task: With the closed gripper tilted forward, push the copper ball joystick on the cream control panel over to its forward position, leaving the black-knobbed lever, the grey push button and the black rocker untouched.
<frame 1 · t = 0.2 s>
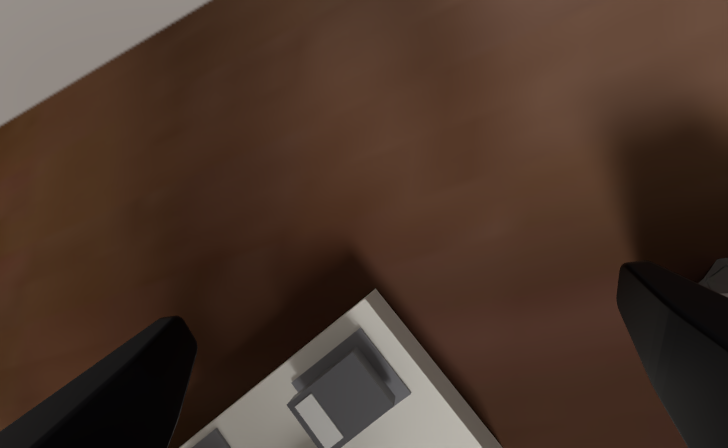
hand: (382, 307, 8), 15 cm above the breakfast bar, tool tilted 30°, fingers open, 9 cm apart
rocker: (341, 400, 19), point 5 cm above the breakfast bar, hinge at 6.0°
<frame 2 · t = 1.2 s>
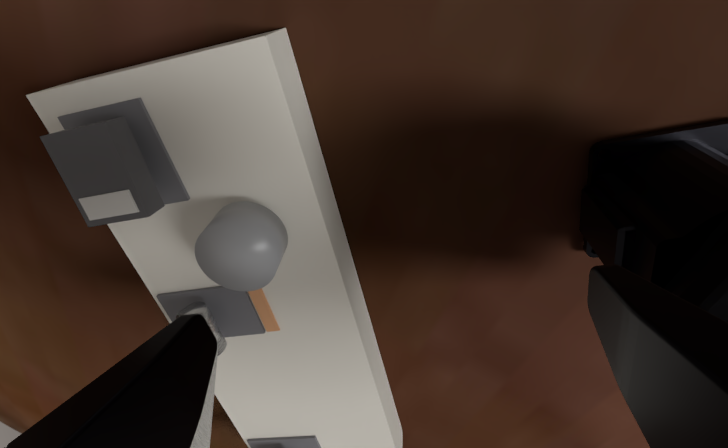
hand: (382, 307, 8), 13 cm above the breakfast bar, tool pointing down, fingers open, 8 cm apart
rocker: (105, 173, 17), point 5 cm above the breakfast bar, hinge at 6.0°
control panel: (278, 298, 26), on the breakfast bar
copper ball joystick: (191, 408, 17), point 9 cm above the breakfast bar, hinge at -20.0°
push button: (243, 246, 18), point 5 cm above the breakfast bar, slide at 0.0 cm
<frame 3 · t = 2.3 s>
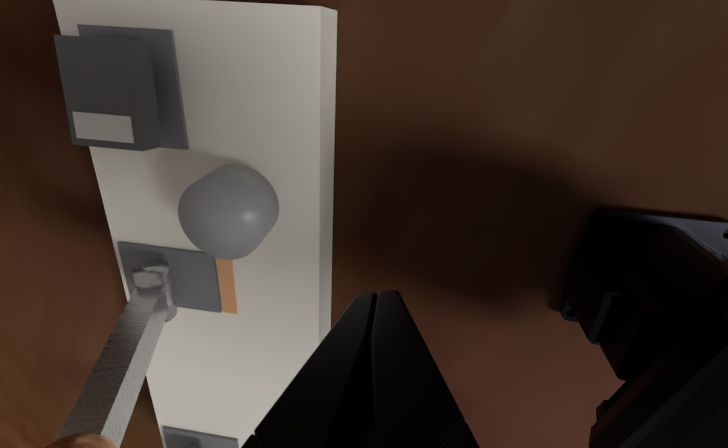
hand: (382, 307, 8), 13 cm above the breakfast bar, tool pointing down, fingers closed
rocker: (110, 94, 16), point 5 cm above the breakfast bar, hinge at 6.0°
control panel: (243, 282, 24), on the breakfast bar
copper ball joystick: (123, 366, 16), point 9 cm above the breakfast bar, hinge at -20.0°
push button: (230, 211, 17), point 5 cm above the breakfast bar, slide at 0.0 cm
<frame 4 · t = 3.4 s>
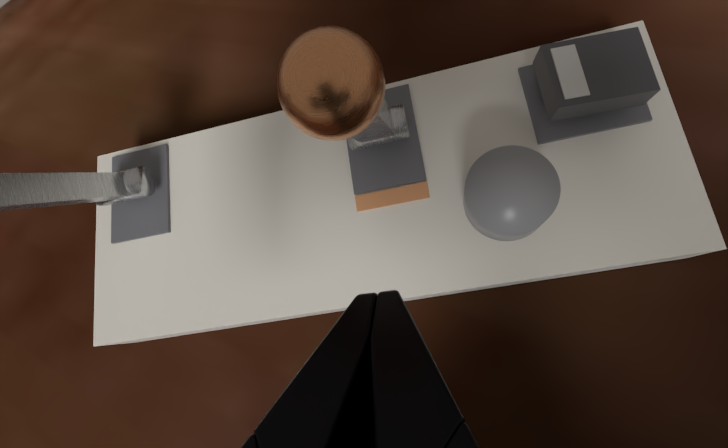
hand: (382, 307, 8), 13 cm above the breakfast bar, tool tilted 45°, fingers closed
rocker: (592, 74, 17), point 5 cm above the breakfast bar, hinge at 6.0°
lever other: (32, 191, 16), point 9 cm above the breakfast bar, hinge at -20.0°
control panel: (363, 208, 23), on the breakfast bar
copper ball joystick: (360, 112, 14), point 9 cm above the breakfast bar, hinge at -20.0°
push button: (508, 194, 17), point 5 cm above the breakfast bar, slide at 0.0 cm
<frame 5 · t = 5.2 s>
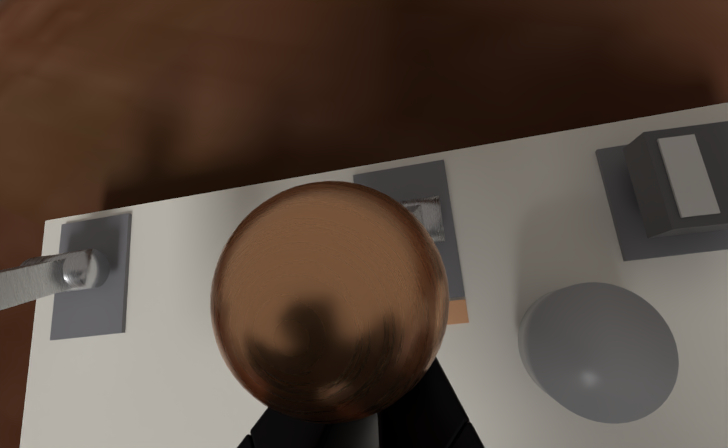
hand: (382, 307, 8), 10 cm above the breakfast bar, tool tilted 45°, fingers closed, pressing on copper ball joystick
rocker: (716, 177, 12), point 5 cm above the breakfast bar, hinge at 6.0°
control panel: (375, 307, 18), on the breakfast bar
copper ball joystick: (382, 243, 9), point 9 cm above the breakfast bar, hinge at -18.2°, touching gripper
push button: (588, 347, 12), point 5 cm above the breakfast bar, slide at 0.0 cm
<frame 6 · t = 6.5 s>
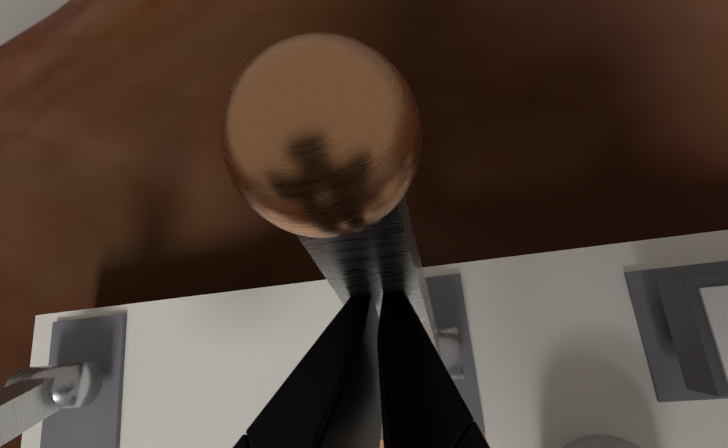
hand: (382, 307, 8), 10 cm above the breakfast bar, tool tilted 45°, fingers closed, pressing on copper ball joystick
control panel: (385, 413, 17), on the breakfast bar
copper ball joystick: (387, 288, 9), point 9 cm above the breakfast bar, hinge at 21.3°, touching gripper
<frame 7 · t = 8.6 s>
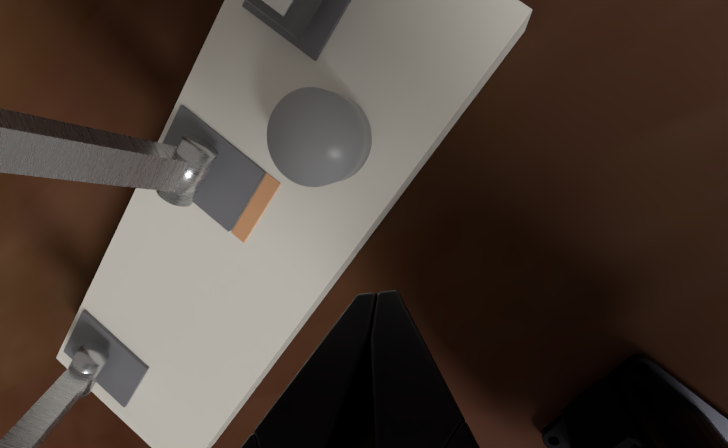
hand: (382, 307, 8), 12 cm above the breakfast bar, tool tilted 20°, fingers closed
control panel: (259, 221, 22), on the breakfast bar
copper ball joystick: (54, 149, 14), point 9 cm above the breakfast bar, hinge at 21.4°
push button: (320, 138, 16), point 5 cm above the breakfast bar, slide at 0.0 cm
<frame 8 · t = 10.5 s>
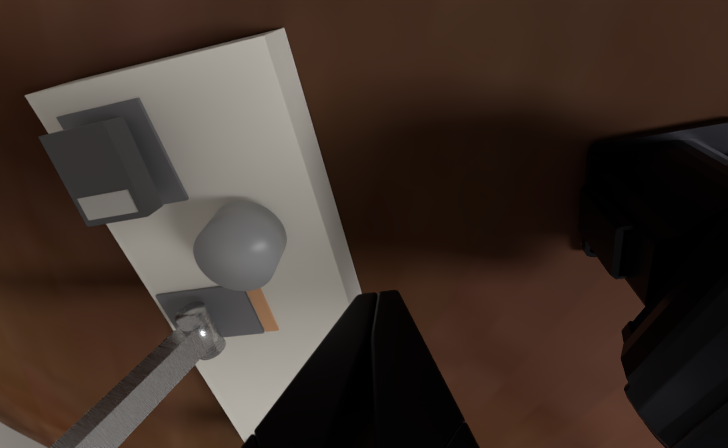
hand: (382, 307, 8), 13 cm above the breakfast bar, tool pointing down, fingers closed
rocker: (104, 173, 17), point 5 cm above the breakfast bar, hinge at 6.0°
control panel: (278, 298, 26), on the breakfast bar
copper ball joystick: (120, 411, 18), point 9 cm above the breakfast bar, hinge at 21.4°
push button: (242, 246, 18), point 5 cm above the breakfast bar, slide at 0.0 cm
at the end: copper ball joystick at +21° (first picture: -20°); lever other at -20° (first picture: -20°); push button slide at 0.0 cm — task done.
